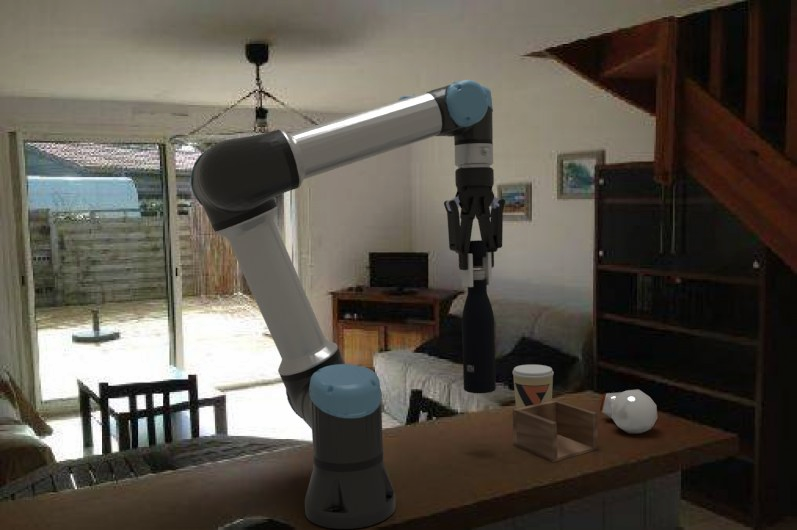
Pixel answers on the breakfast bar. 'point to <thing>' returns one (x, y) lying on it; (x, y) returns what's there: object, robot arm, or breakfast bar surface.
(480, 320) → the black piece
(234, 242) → the robot arm
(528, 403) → the coffee cup
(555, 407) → the u rest
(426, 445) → the breakfast bar surface
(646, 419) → the potion bottle
